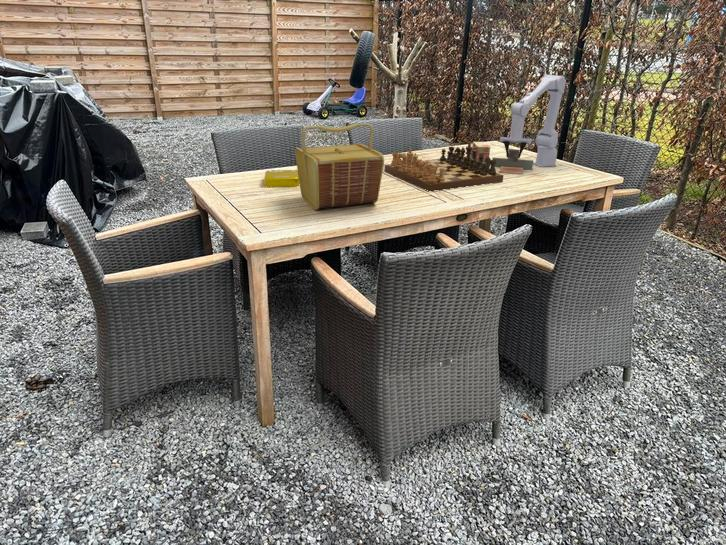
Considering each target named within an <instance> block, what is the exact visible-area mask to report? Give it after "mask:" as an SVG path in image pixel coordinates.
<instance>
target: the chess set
mask: <svg viewBox="0 0 726 545" xmlns="http://www.w3.org/2000/svg"><path fill="white" fill-rule="evenodd" d="M471 144H472V142H471V141H469V142H468V143H467V146H466V147H464V146H462V148H460V147H459V146H457V147H455V146H449V147H448V151H447V153H446V149H445V148H442V149H441V153H440V154H441V155H440V157H439V158H435V159H426V160H423V159H419V155H417V152H415V153H414V152H412V151H413V150H412V147H409V148H408V152H403V153H401V152H398V151H397V152H396V151H393V152H392V154H391V155H392V160H391V163H390V164H389V163H388V164H384V172H386V173H388V174H390V175H392V176H395V177H397V178H399V179H401V180H403V181H405V182H408V183H410V184H412V185H413V186H416V187H418V186H419V187H418V188H420V187H421V188H420V189H422V188H423V190H424V189H426V190H425V191H427V190H428V191H427V192H429V191H432V192H435V191H434V190H439V191H444V190H443V189H447V190H451V189H450V188H454V189H459V188H458V187H462V188H467V187H466V186H469V187H475V186H474V185H477V186H483V185H482V184H484V185H490V183H492V184H499V183H503V181H504V174H502V173H498V172H497V170H496V167H495V164H496V163H497V161H496V160H492V159H491V157H490V156H489V157H488V156H487V157H486V159H485V160H484V163H483V164H482V162H483V158H484V156H483V153H481V154H480V155H479V160H478V161H477V162H476V157H477V154H476V153H477V151H478V150H476V148H474V150H472V147H471ZM471 150H472V152H473V154H472V153H471ZM446 154H447V155H446ZM470 154H472V155H471V156H473V158H472V159H470ZM485 162H486V163H485Z"/></svg>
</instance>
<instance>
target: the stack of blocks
mask: <svg viewBox="0 0 726 545" xmlns="http://www.w3.org/2000/svg"><path fill="white" fill-rule="evenodd" d="M471 147H472V150H474V148H476V150H478V151H477V153H476V154H477V157H476V162H477V161H478V160H479V155H480V154H481V153H483V156H484V158H483V162H482V164H483V163H484V160H485V159H486V157H487V156H488V157H489V158H490V153H491V146H490V145H489V143H487V142H485V141H473V142H472V143H471ZM472 150H471V153H472V154H473V152H472ZM472 154H470V159H472V158H473V156H471V155H472ZM485 163H486V162H485Z"/></svg>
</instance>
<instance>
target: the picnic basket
mask: <svg viewBox="0 0 726 545" xmlns="http://www.w3.org/2000/svg"><path fill="white" fill-rule="evenodd" d="M357 127H368V128H369V140H368V146H367V145H365V144H362V143H356V144H344V145H342V144H340V145H329V146H328V145H327V146H326V145H325V146H315V147H312V146H311V147H307V146H306V137H305V134H306V132H307V131H308V130H315V129H316V130H321V131H324V132H330V133H341V132H347V131H350V130H351V131H352V130H354V129H355V128H357ZM300 137H301V145H302V147H300V148H299V147H296V148H295V149H294V156H295V162H296V170H298V177H299V188H300V189H299V190H300V194H301V198H302V199H303V201H304V202H306V204H308V206H310V207H311V208H312V209H313V210H314V209H315V211H318V210H320V209H329V208H338V207H345V206H346V207H347V206H354V205H363V204H376V203H377V202H378V199H379V197H380V196H379V195H380V191H381V190H380V189H381V184H382V177H383V172H384V171H383V170H384V167H385V157H384V154H383V153H382V152H380V151H378V150H376V149H374V148H373V141H374V140H373V139H374V127H373V125H372V124H370V123H366V122H363V123H354V124H350V125H347V126H343V127H329V126H322V125H310V126H309V125H308V126H305V127H304V128H303V129H302V130H301V132H300Z"/></svg>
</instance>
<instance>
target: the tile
mask: <svg viewBox="0 0 726 545" xmlns="http://www.w3.org/2000/svg"><path fill="white" fill-rule="evenodd" d="M499 174H509V175H510V174H511V175H521V176H522V175H524V169H523V168H517V167H504V166H501V167H499Z"/></svg>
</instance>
